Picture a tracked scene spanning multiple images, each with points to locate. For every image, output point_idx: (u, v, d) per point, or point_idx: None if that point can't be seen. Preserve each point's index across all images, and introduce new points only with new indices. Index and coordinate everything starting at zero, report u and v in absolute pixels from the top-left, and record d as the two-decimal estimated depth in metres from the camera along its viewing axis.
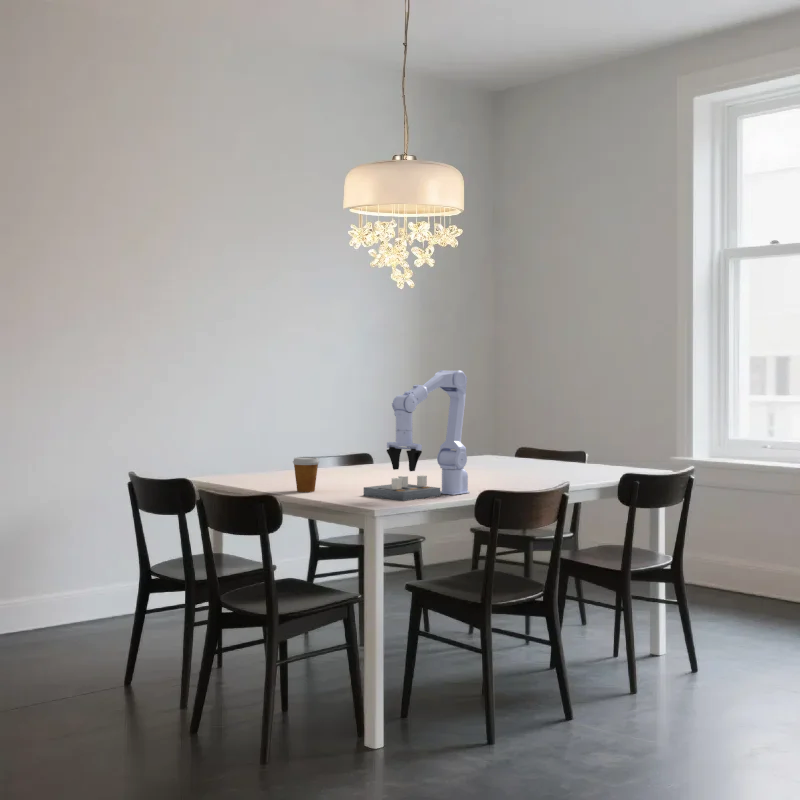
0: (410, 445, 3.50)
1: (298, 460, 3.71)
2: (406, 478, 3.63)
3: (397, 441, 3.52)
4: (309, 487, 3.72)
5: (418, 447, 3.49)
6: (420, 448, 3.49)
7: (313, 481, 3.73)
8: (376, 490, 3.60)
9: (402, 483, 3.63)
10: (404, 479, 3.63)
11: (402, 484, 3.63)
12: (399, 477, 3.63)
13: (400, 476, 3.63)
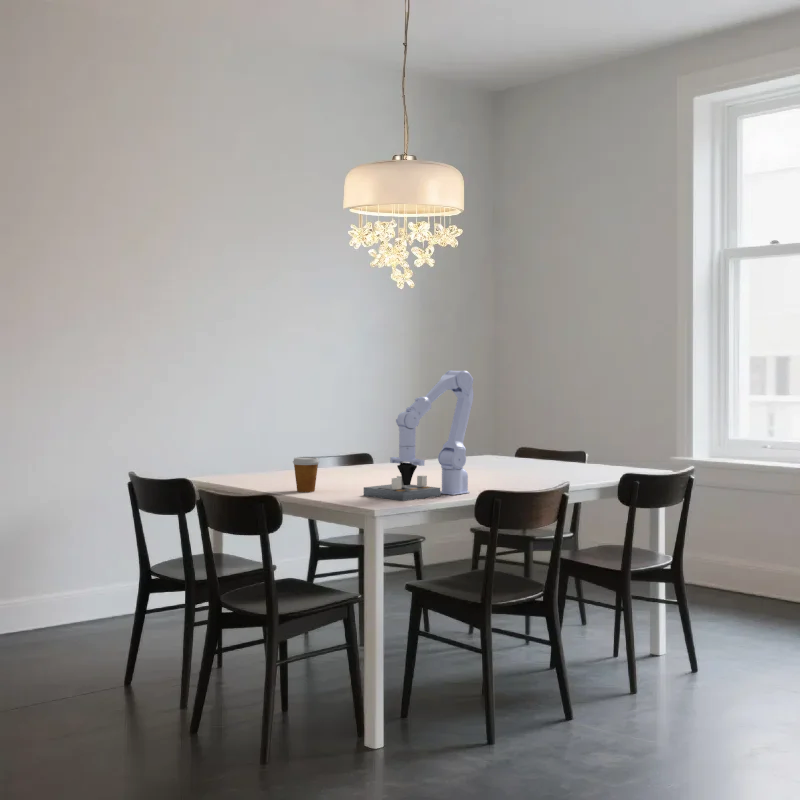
0: (413, 460, 3.58)
1: (298, 460, 3.71)
2: None
3: (400, 456, 3.61)
4: (309, 487, 3.72)
5: (421, 462, 3.57)
6: (423, 464, 3.58)
7: (313, 481, 3.73)
8: (376, 490, 3.60)
9: None
10: (402, 479, 3.63)
11: None
12: (397, 477, 3.64)
13: (398, 476, 3.64)
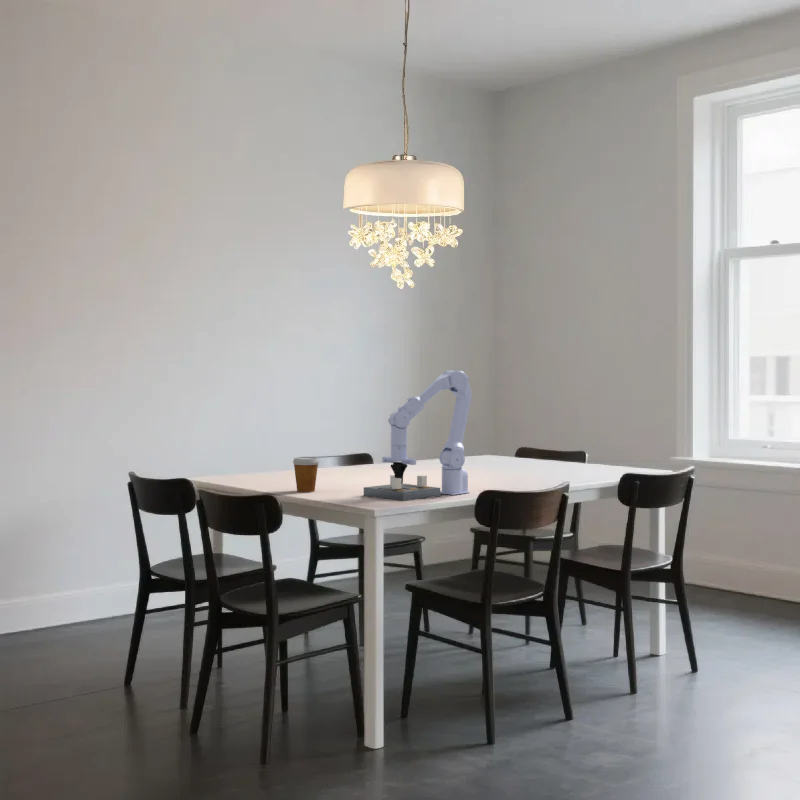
0: (405, 460, 3.61)
1: (298, 460, 3.71)
2: None
3: (392, 456, 3.63)
4: (309, 487, 3.72)
5: (412, 462, 3.60)
6: (415, 463, 3.61)
7: (313, 481, 3.73)
8: (376, 490, 3.60)
9: None
10: None
11: None
12: (391, 476, 3.66)
13: (392, 475, 3.66)
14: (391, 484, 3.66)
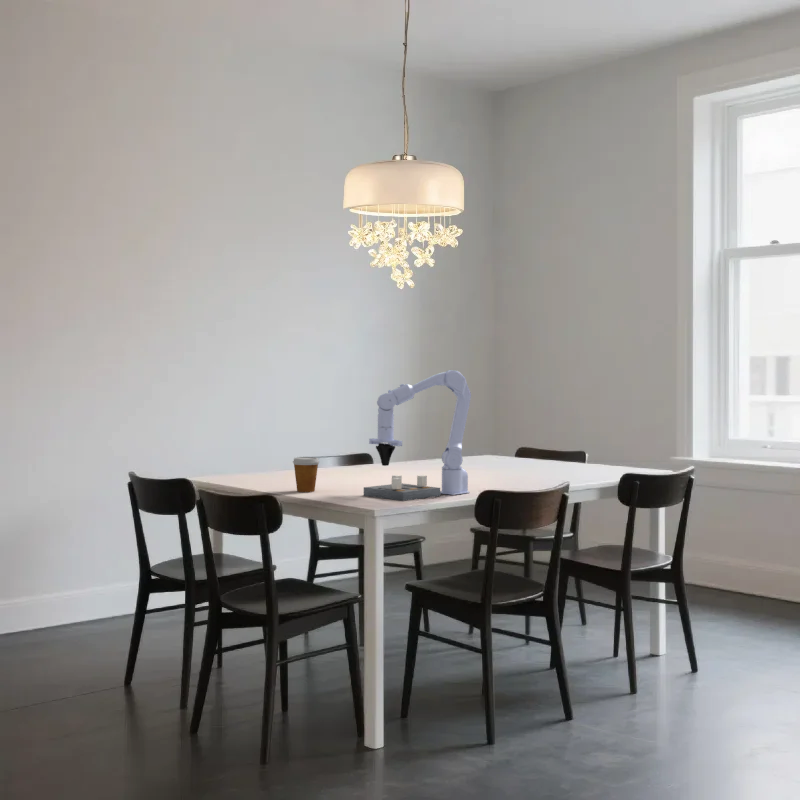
0: (391, 441, 3.65)
1: (298, 460, 3.71)
2: (400, 477, 3.65)
3: (379, 437, 3.68)
4: (309, 487, 3.72)
5: (399, 443, 3.64)
6: (401, 445, 3.65)
7: (313, 481, 3.73)
8: (376, 490, 3.60)
9: None
10: None
11: None
12: (393, 476, 3.65)
13: (394, 475, 3.65)
14: None
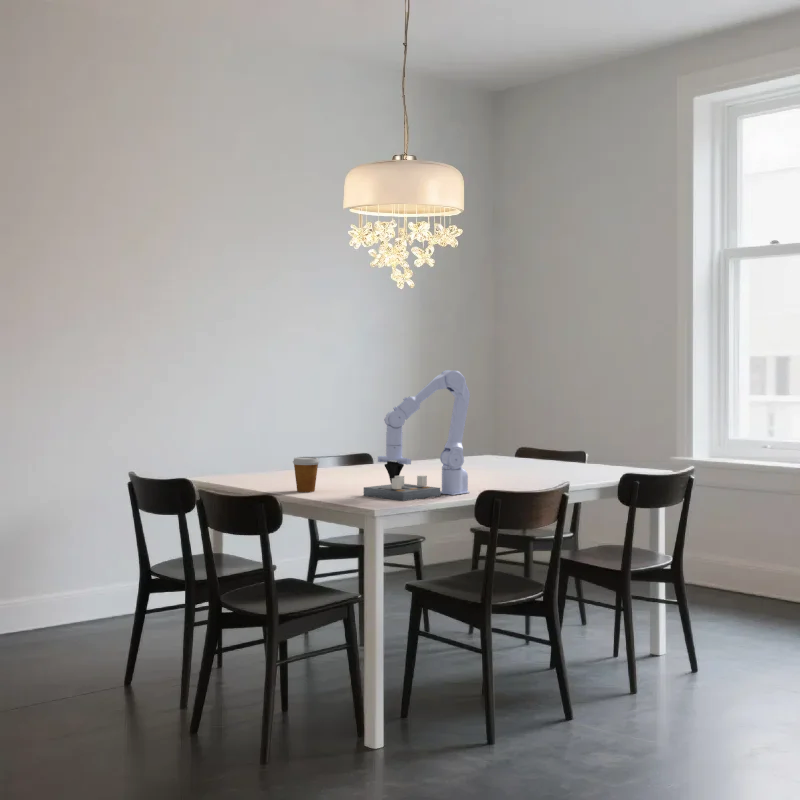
0: (400, 459, 3.63)
1: (298, 460, 3.71)
2: (402, 478, 3.65)
3: (387, 455, 3.65)
4: (309, 487, 3.72)
5: (407, 461, 3.61)
6: (410, 463, 3.62)
7: (313, 481, 3.73)
8: (376, 490, 3.60)
9: None
10: None
11: None
12: (395, 477, 3.65)
13: (396, 476, 3.65)
14: None
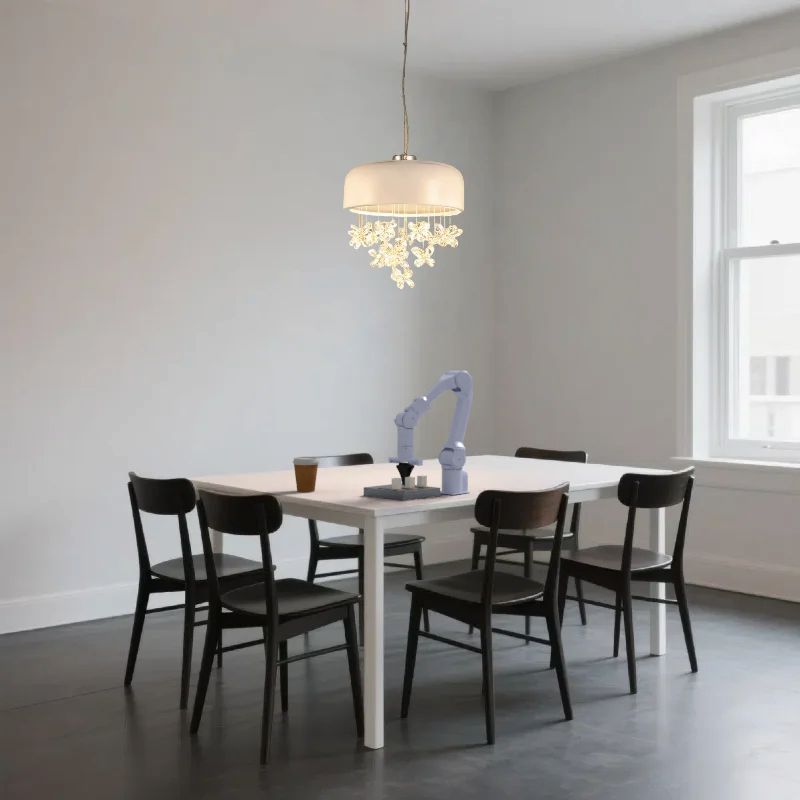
0: (411, 460, 3.59)
1: (298, 460, 3.71)
2: (413, 479, 3.61)
3: (399, 456, 3.61)
4: (309, 487, 3.72)
5: (419, 462, 3.58)
6: (421, 464, 3.58)
7: (313, 481, 3.73)
8: (376, 490, 3.60)
9: (409, 484, 3.60)
10: (411, 480, 3.60)
11: (409, 485, 3.60)
12: (406, 478, 3.61)
13: (407, 477, 3.61)
14: (406, 486, 3.61)
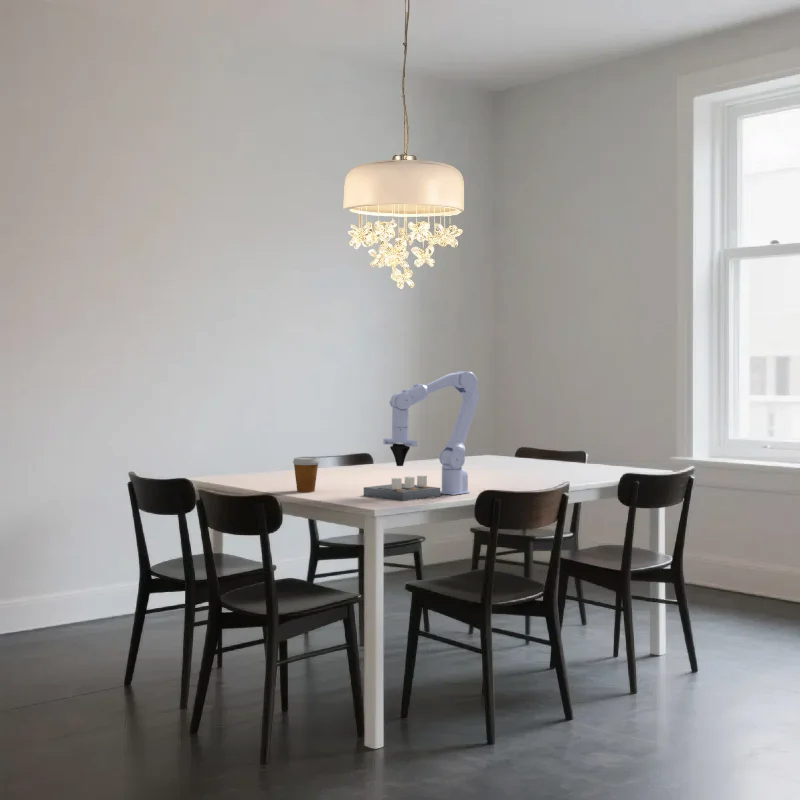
0: (406, 441, 3.61)
1: (298, 460, 3.71)
2: (412, 479, 3.61)
3: (393, 437, 3.63)
4: (309, 487, 3.72)
5: (414, 443, 3.60)
6: (416, 445, 3.60)
7: (313, 481, 3.73)
8: (376, 490, 3.60)
9: (408, 484, 3.60)
10: (410, 480, 3.61)
11: (408, 485, 3.60)
12: (405, 478, 3.61)
13: (406, 477, 3.61)
14: (405, 486, 3.61)
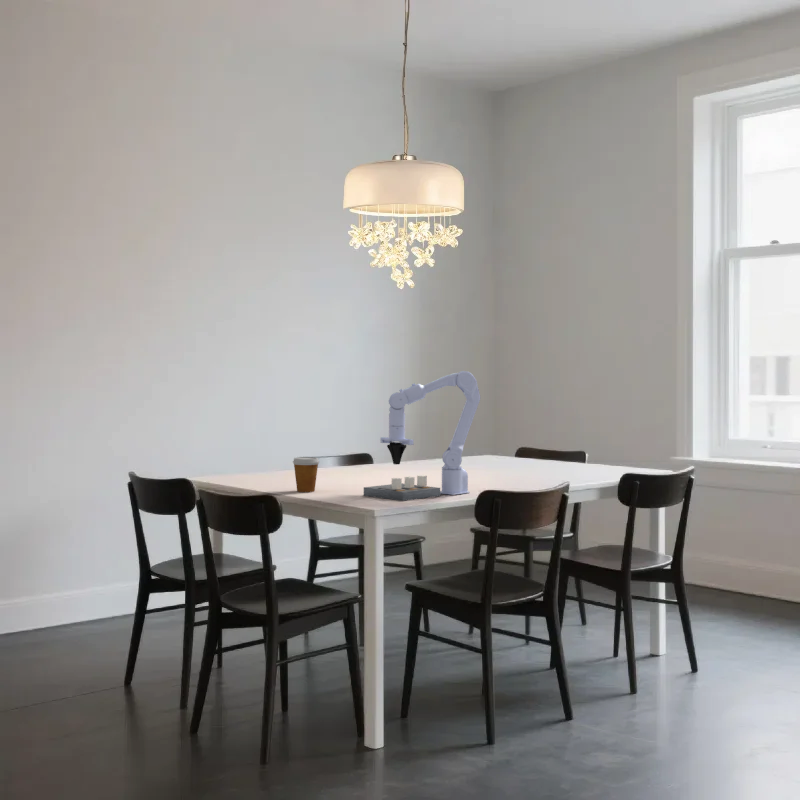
0: (402, 440, 3.67)
1: (298, 460, 3.71)
2: (412, 479, 3.61)
3: (390, 436, 3.69)
4: (309, 487, 3.72)
5: (410, 442, 3.66)
6: (412, 443, 3.67)
7: (313, 481, 3.73)
8: (376, 490, 3.60)
9: (408, 484, 3.60)
10: (410, 480, 3.61)
11: (408, 485, 3.60)
12: (405, 478, 3.61)
13: (406, 477, 3.61)
14: (405, 486, 3.61)
